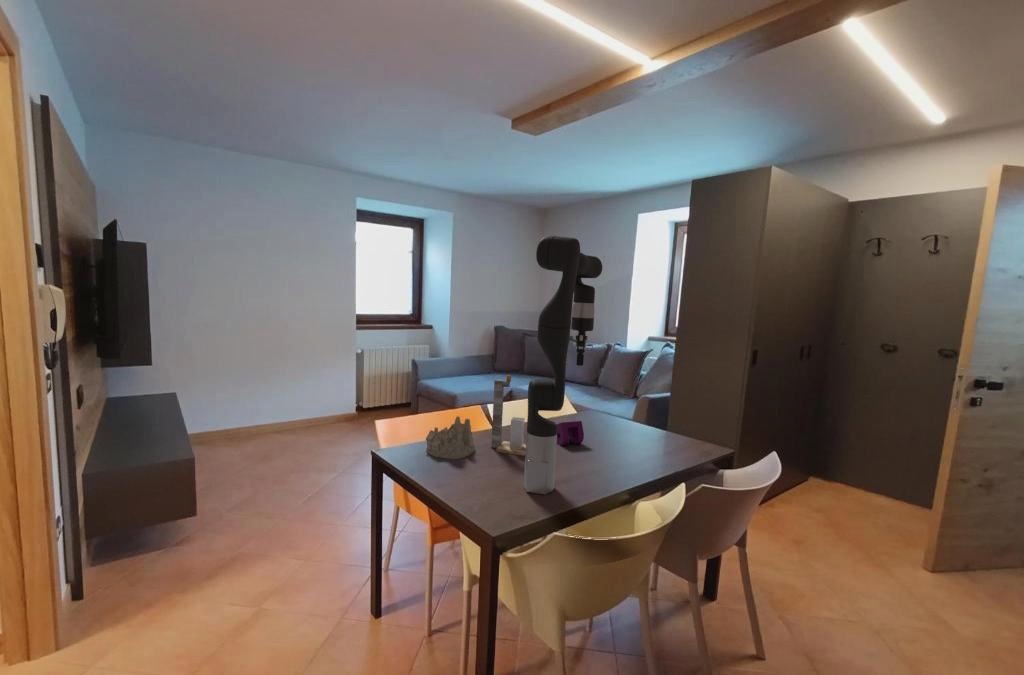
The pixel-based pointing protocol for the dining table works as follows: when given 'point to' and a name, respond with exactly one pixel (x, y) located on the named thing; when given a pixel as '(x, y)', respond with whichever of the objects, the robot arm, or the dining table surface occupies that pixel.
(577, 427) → the mounting bracket
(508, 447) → the keeper
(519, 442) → the gray rectangular block
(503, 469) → the dining table surface
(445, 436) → the gray sandcastle
